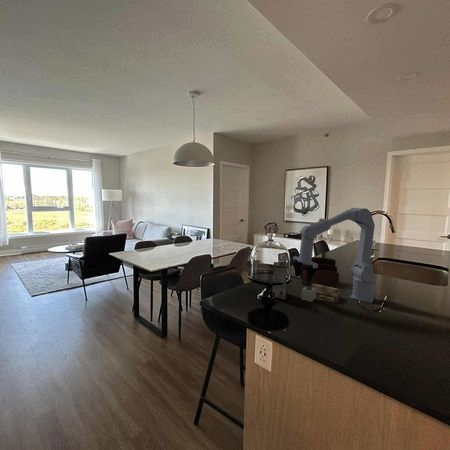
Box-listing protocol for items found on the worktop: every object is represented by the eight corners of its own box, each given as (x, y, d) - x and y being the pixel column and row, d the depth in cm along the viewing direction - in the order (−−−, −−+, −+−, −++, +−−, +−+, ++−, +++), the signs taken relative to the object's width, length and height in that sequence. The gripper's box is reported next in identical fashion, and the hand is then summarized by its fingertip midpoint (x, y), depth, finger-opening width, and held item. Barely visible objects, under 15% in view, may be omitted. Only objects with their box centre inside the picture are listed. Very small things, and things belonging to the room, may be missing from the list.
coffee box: (272, 291, 131) (273, 261, 130) (285, 292, 130) (286, 262, 129) (272, 298, 123) (273, 266, 121) (286, 299, 121) (287, 266, 120)
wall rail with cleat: (341, 297, 124) (341, 289, 123) (335, 303, 116) (335, 295, 116) (312, 290, 133) (312, 283, 133) (305, 296, 126) (305, 288, 125)
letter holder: (299, 278, 153) (300, 256, 152) (334, 280, 150) (335, 257, 148) (301, 284, 144) (302, 260, 142) (338, 286, 140) (340, 261, 139)
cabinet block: (315, 299, 122) (315, 287, 122) (311, 302, 118) (312, 289, 118) (305, 296, 125) (305, 284, 125) (301, 299, 122) (301, 287, 121)
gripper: (289, 247, 125) (286, 274, 126) (311, 254, 112) (307, 284, 113) (300, 247, 128) (297, 273, 129) (322, 254, 115) (319, 283, 116)
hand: (302, 278), depth 122 cm, fingers open, 7 cm apart
